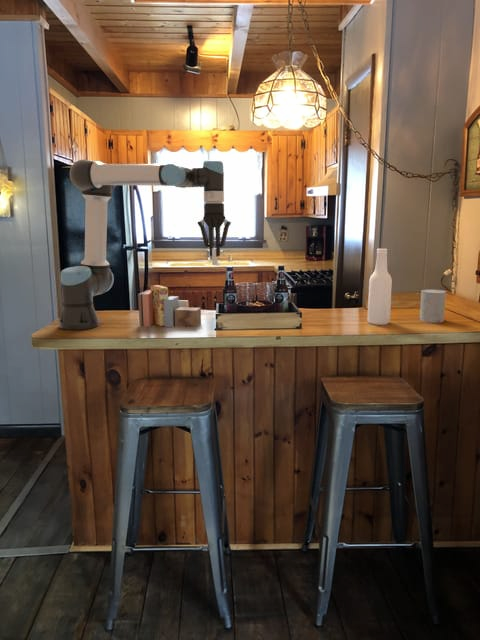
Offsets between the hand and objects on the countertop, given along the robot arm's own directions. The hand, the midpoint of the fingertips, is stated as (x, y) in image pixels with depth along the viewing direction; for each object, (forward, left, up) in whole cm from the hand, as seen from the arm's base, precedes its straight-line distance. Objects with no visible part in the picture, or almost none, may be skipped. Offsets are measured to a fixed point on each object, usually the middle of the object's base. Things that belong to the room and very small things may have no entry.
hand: (215, 264), depth 201 cm
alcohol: (+64, +17, -25) cm, 71 cm away
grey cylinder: (+86, +26, -25) cm, 93 cm away
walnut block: (-11, -2, -25) cm, 27 cm away
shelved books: (-23, -1, -24) cm, 34 cm away
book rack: (-22, 0, -24) cm, 33 cm away
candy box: (-23, -1, -24) cm, 34 cm away
